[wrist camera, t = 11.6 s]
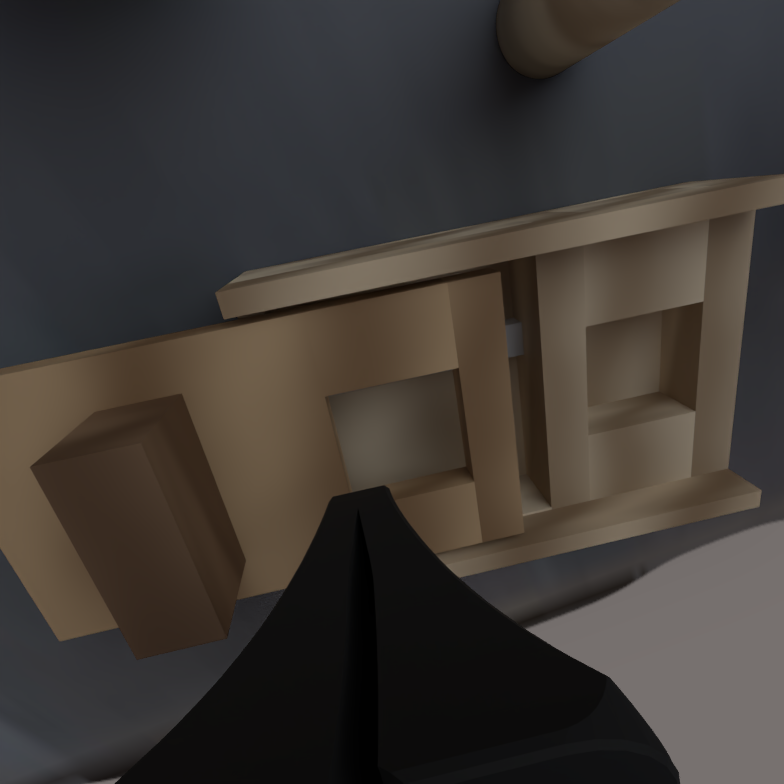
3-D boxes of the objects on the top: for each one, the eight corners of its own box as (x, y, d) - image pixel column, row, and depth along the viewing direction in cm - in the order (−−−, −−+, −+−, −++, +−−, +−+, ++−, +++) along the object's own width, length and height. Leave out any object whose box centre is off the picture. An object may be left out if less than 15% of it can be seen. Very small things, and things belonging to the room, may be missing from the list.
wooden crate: (688, 181, 17) (807, 171, 13) (673, 447, 21) (759, 506, 17) (245, 271, 16) (215, 292, 12) (321, 528, 20) (318, 611, 16)
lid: (488, 267, 14) (547, 288, 10) (513, 515, 17) (564, 599, 13) (-66, 382, 13) (-225, 450, 9) (74, 617, 16) (-1, 735, 13)
